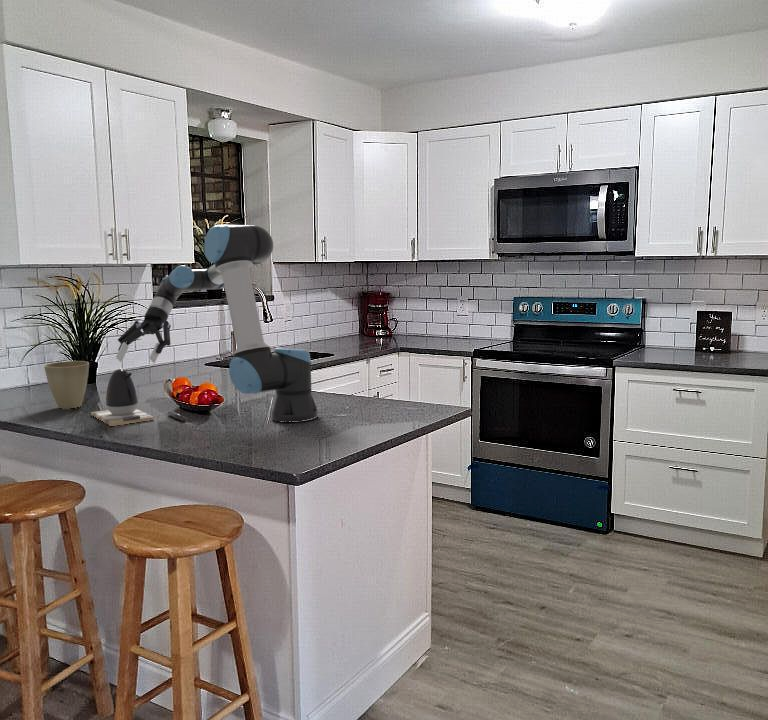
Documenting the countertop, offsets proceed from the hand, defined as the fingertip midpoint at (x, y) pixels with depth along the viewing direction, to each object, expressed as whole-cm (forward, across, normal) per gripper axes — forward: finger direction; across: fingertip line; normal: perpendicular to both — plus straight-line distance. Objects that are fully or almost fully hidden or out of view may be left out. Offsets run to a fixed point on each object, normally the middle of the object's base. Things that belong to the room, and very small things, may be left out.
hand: (135, 359), depth 255 cm
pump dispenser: (+18, -1, -6) cm, 19 cm away
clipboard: (+19, 0, -7) cm, 20 cm away
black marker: (+17, -19, -9) cm, 27 cm away
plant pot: (+12, +30, -14) cm, 36 cm away
